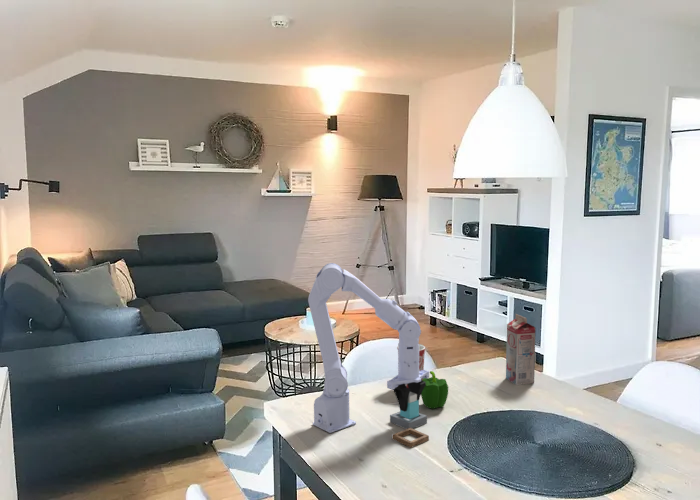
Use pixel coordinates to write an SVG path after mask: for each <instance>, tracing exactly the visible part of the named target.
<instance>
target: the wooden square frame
mask: <svg viewBox="0 0 700 500" xmlns="http://www.w3.org/2000/svg"><path fill="white" fill-rule="evenodd" d="M408 435H412V436H414V437H416V438H415V439H412V440H409V439H408V438H405V437H406V436H408ZM391 438H392V439H391V440H393V441H396V442H398V443H400V444H402V445H404V446H406V447H409V448H413V447H416V446H418V445H421V444H423V443H425V442H428V441H430V436H429V435H428V434H426V433H424V432H421V431H419V430H416V429H415V428H413V429H412V428H408V429H403V430H401V431H398V432H396V433H393V434H392V437H391Z"/></svg>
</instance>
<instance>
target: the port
mask: <svg viewBox="0 0 700 500" xmlns="http://www.w3.org/2000/svg"><path fill="white" fill-rule="evenodd" d="M389 422H390V423H392V424H393V425H396V426H397V427H401V428H403V429H404V430H406V429H408V428H412V429H415V428H418V427H420V426H422V425H426V424H428V415H426V414H423V413H421V412H419V416H417V417H415V418H412V419H408V418H405V417H403V416H401V415H400V411H397V412H395V413H392V414H390V415H389Z"/></svg>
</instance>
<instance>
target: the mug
mask: <svg viewBox="0 0 700 500" xmlns="http://www.w3.org/2000/svg"><path fill="white" fill-rule="evenodd" d="M396 349H397V350H398V346H397V347H396ZM425 352H426V346H424V345H422V344H419V371H421V370H425V368H424V367H425V354H426V353H425ZM422 380H423V379H422ZM405 386H406V387H407V388H408V384H405Z"/></svg>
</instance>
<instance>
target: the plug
mask: <svg viewBox="0 0 700 500" xmlns="http://www.w3.org/2000/svg"><path fill="white" fill-rule="evenodd" d="M419 408H420V399H419V400H417V394H415V393H412V392H410V393H409V396H408V407H407V411H402V410H400V409H399V412H400V415H401V416H403V417H405V418H408V419H412V418H415V417H417V416H419V413H420V409H419Z"/></svg>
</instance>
